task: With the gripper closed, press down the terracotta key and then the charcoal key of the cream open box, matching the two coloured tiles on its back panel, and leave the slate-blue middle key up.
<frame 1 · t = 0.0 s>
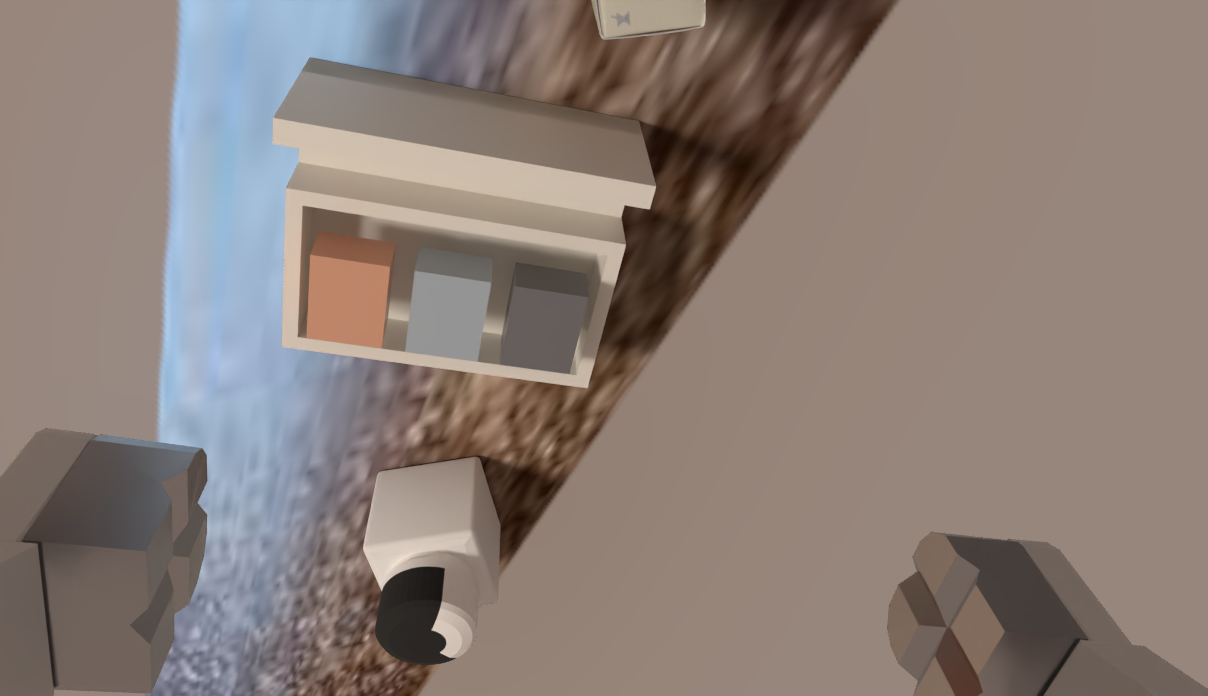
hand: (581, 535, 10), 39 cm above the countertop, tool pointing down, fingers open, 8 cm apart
slate key: (448, 305, 47), point 6 cm above the countertop, slide at 0.0 cm
terracotta key: (351, 290, 46), point 6 cm above the countertop, slide at 0.0 cm
charcoal key: (543, 319, 48), point 6 cm above the countertop, slide at 0.0 cm
cream open box: (456, 250, 52), on the countertop
medicine bottle: (441, 496, 63), on the countertop
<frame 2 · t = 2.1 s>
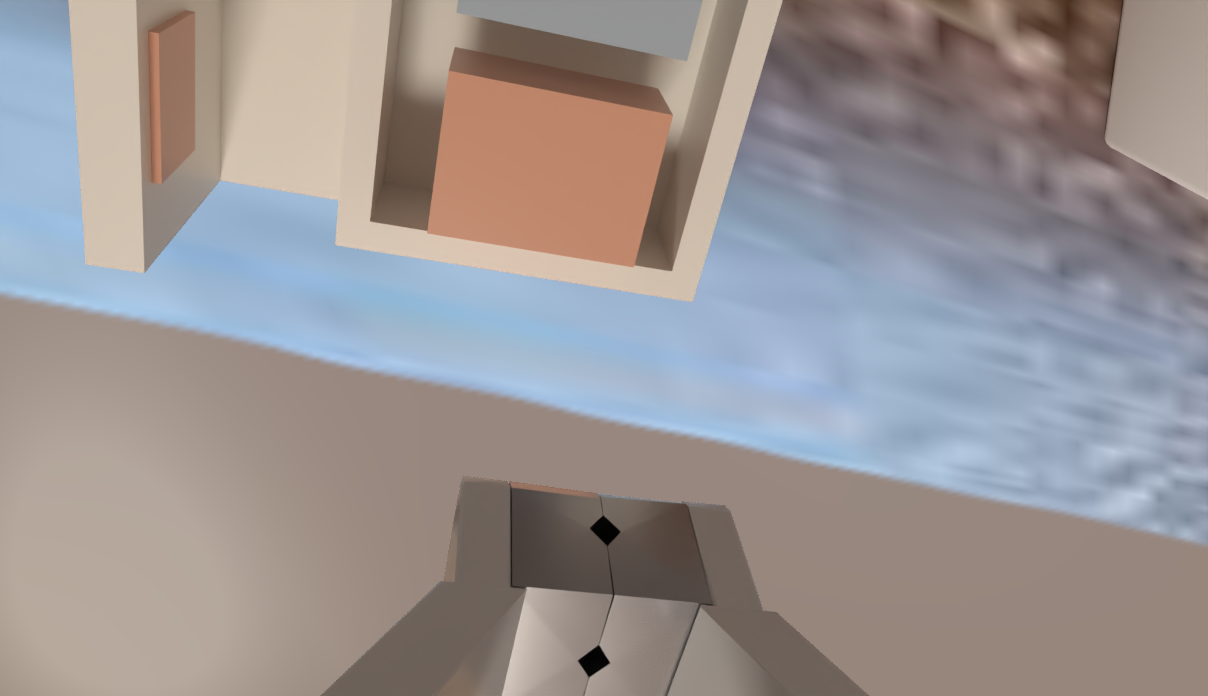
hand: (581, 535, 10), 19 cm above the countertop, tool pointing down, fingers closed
terracotta key: (545, 158, 22), point 6 cm above the countertop, slide at 0.0 cm
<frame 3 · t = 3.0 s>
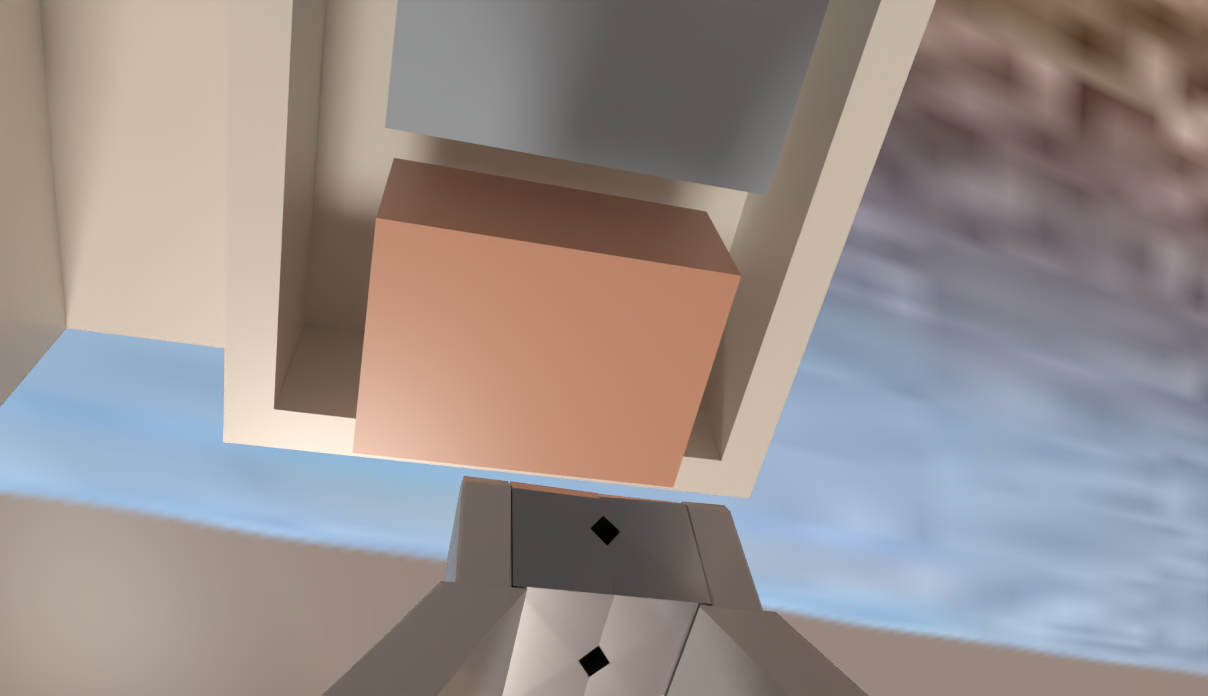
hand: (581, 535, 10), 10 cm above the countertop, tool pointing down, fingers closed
terracotta key: (537, 326, 14), point 6 cm above the countertop, slide at 0.0 cm
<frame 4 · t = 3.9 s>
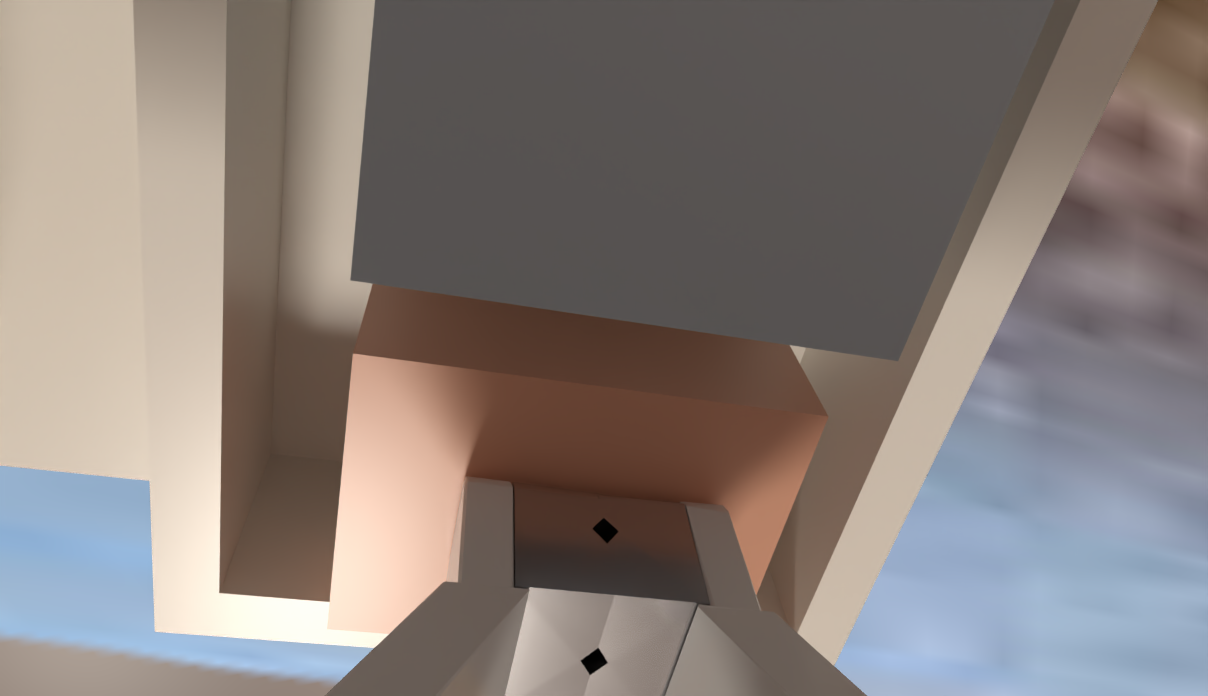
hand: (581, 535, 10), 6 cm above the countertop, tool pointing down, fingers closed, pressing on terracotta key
slate key: (672, 75, 8), point 6 cm above the countertop, slide at 0.0 cm
terracotta key: (561, 462, 11), point 5 cm above the countertop, slide at 0.8 cm, touching gripper
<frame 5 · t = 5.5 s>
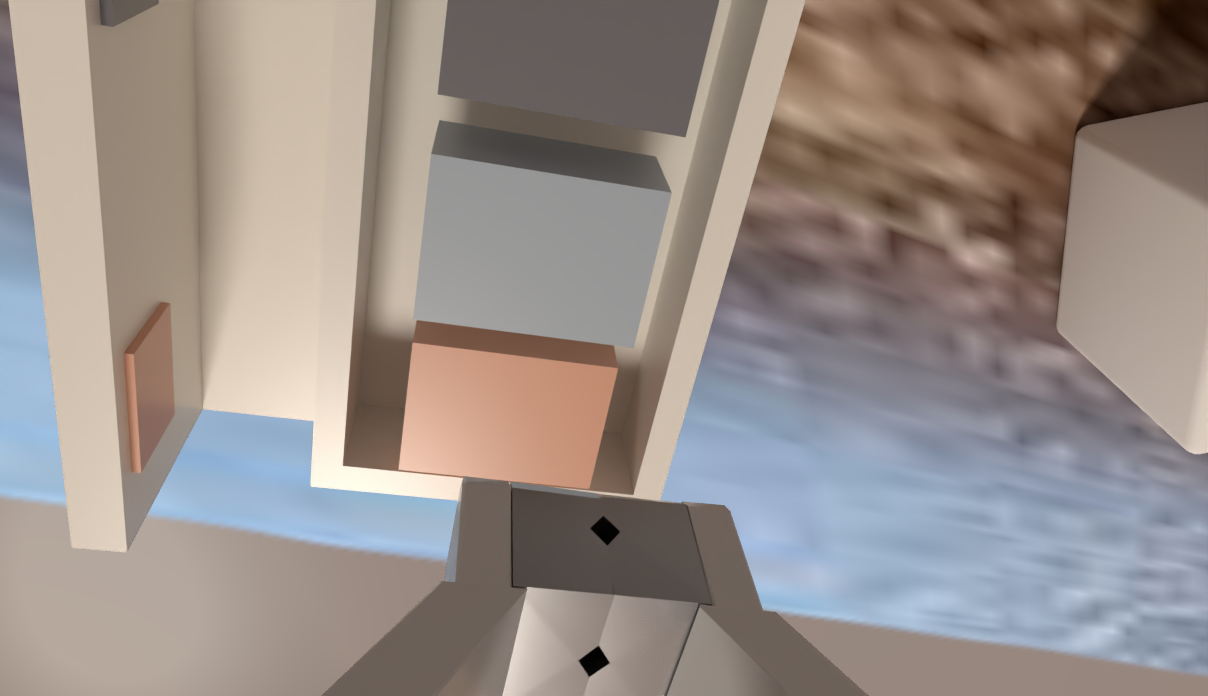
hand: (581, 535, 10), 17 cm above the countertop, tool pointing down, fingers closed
slate key: (537, 235, 20), point 6 cm above the countertop, slide at 0.0 cm
terracotta key: (506, 394, 24), point 5 cm above the countertop, slide at 1.1 cm
charcoal key: (578, 6, 18), point 6 cm above the countertop, slide at 0.0 cm
cream open box: (532, 154, 25), on the countertop
medicine bottle: (1168, 210, 28), on the countertop
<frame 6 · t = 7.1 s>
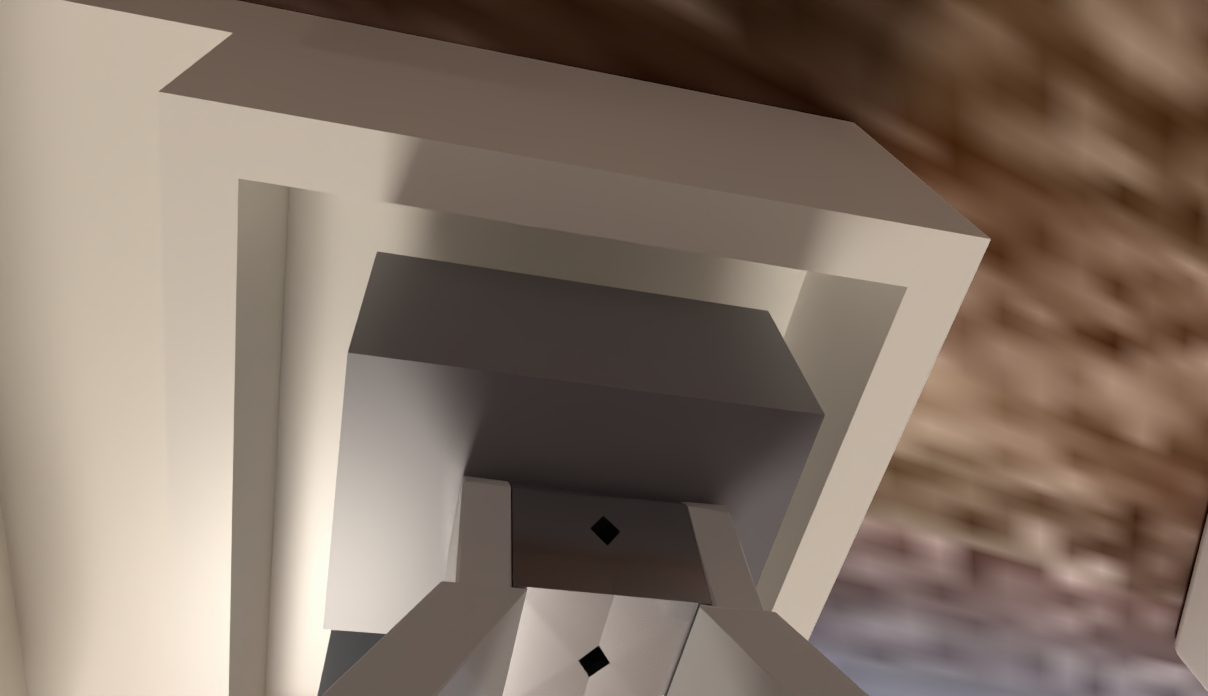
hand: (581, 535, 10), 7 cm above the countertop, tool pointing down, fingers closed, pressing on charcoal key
charcoal key: (557, 461, 11), point 6 cm above the countertop, slide at 0.0 cm, touching gripper
cream open box: (497, 482, 18), on the countertop
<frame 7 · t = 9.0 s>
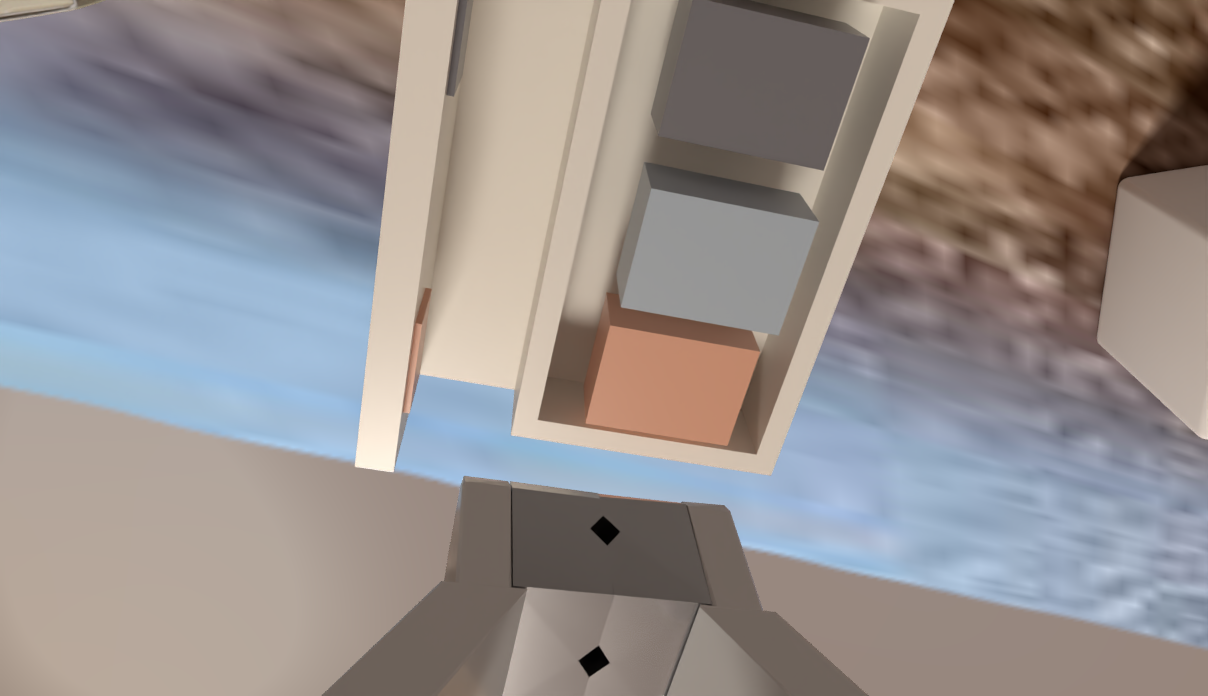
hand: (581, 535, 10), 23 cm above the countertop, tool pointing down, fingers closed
slate key: (711, 249, 27), point 6 cm above the countertop, slide at 0.0 cm
terracotta key: (667, 369, 31), point 5 cm above the countertop, slide at 1.1 cm
charcoal key: (753, 78, 26), point 5 cm above the countertop, slide at 1.1 cm
cream open box: (688, 185, 33), on the countertop
medicine bottle: (1192, 247, 35), on the countertop
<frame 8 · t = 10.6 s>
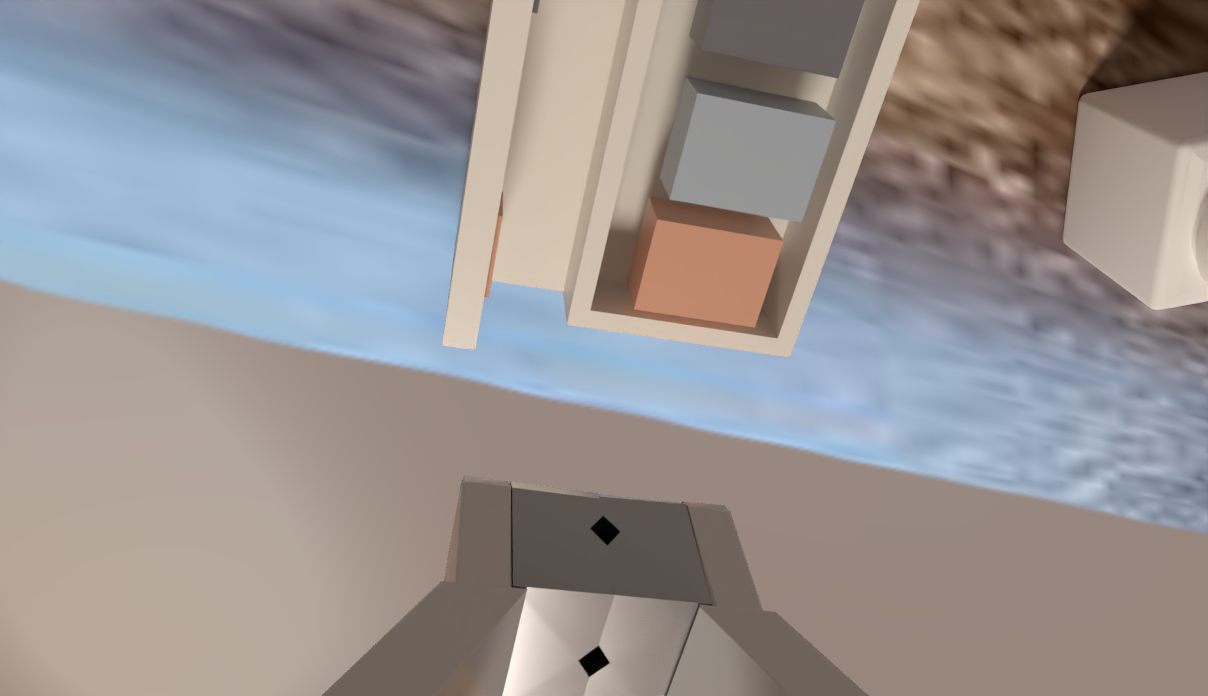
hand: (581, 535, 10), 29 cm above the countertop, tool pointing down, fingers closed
slate key: (744, 149, 32), point 6 cm above the countertop, slide at 0.0 cm
terracotta key: (702, 262, 36), point 5 cm above the countertop, slide at 1.1 cm
charcoal key: (778, 1, 31), point 5 cm above the countertop, slide at 1.1 cm
cream open box: (712, 106, 37), on the countertop
medicine bottle: (1142, 156, 41), on the countertop
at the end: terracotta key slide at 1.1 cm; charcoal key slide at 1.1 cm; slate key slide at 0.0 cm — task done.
